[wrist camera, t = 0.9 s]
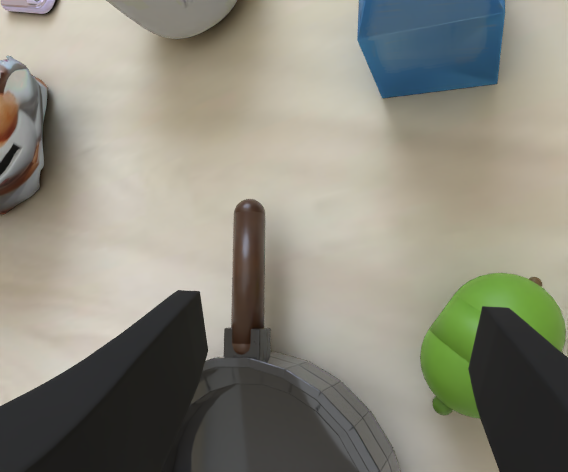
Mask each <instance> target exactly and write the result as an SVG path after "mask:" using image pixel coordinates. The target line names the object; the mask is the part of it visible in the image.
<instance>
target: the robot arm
mask: <svg viewBox="0 0 568 472" xmlns="http://www.w3.org/2000/svg"><path fill="white" fill-rule="evenodd" d="M207 353H208V346H207V339H206V332H205V325H204V318H203V311H202V304H201V297H200V291H181V290H178V291H176V292H175V293H173V294H172V295H171V296H169V297H168V298H167V299H165V300H164V301H163V302H162V303H160V304H159V305H158V306H156V307H155V308H154V309H153V310H151V311H150V312H149V313H147V314H146V315H145V316H144V317H142V318H141V319H140V320H138V321H137V322H136V323H134V324H133V325H132V326H131V327H129V328H128V329H127V330H125V331H124V332H123V333H121V334H120V335H119V336H117V337H116V338H114V339H113V340H111V341H110V342H108V343H107V344H106V345H104V346H103V347H101V348H100V349H98V350H97V351H96V352H94V353H93V354H91V355H90V356H88V357H87V358H85V359H84V360H82V361H81V362H79V363H78V364H76V365H74V366H73V367H71V368H70V369H68V370H66V371H65V372H63V373H61V374H60V375H58V376H56V377H54V378H53V379H51V380H49V381H48V382H46V383H44V384H42V385H41V386H39V387H37V388H35V389H33V390H31V391H29V392H27V393H25V394H23V395H21V396H19V397H17V398H15V399H14V400H12V401H10V402H8V403H6V404H4V405H2V406H0V472H162V469H163V467H164V464H165V461H166V459H167V457H168V455H169V452H170V450H171V448H172V445H173V443H174V441H175V438H176V436H177V434H178V431H179V429H180V427H181V424H182V422H183V420H184V418H185V415H186V413H187V411H188V408H189V406H190V404H191V401H192V399H193V396H194V394H195V392H196V389H197V387H198V384H199V381H200V378H201V374H202V371H203V367H204V364H205V360H206V356H207ZM468 370H469V375H470V380H471V385H472V389H473V394H474V398H475V402H476V407H477V410H478V413H479V416H480V418H481V421H482V424H483V427H484V430H485V433H486V435H487V438H488V441H489V444H490V446H491V449H492V452H493V455H494V457H495V460H496V463H497V466H498V468H499V471H500V472H568V357H566V356H565V355H564V354H563V353H562V352H560V351H559V350H558V349H557V348H556V347H554V346H553V345H552V344H551V343H550V342H549V341H547V340H546V339H545V338H544V337H543V336H542V335H540V334H539V333H538V332H537V331H536V330H535V329H534V328H532V327H531V326H530V325H529V324H528V323H527V322H525V321H524V320H523V319H522V318H521V317H520V316H518V315H517V314H516V313H515V312H513V311H512V310H511V309H510V308H506V307H487V306H482V310H481V314H480V319H479V323H478V328H477V332H476V336H475V341H474V345H473V350H472V354H471V359H470V363H469V367H468Z"/></svg>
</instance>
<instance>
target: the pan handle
mask: <svg viewBox="0 0 568 472" xmlns="http://www.w3.org/2000/svg"><path fill="white" fill-rule="evenodd" d="M264 282H265V210H264V208H263V206H262V205H261V203H259V202H258V201H256V200H253V199H246V200H243V201H241V202H240V203H239V204H238V205H237V206H236V208H235V211H234V234H233V277H232V319H231V328H225V330H224V357H251V358H252V357H253V358H256V359H263V358H268V357H270V331H271V329H270V328H264Z"/></svg>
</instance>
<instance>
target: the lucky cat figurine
mask: <svg viewBox="0 0 568 472" xmlns="http://www.w3.org/2000/svg"><path fill="white" fill-rule="evenodd" d="M7 58H8V59H7V60H1V61H0V214H6V213H7V212H8V211H9V210H10V209H12V208H13V207H15V206H16V205H18V204H19V203H21V202H23V201H24V200H26V199H28V198H29V197H31V196H32V195H33V194H34V193H35V192H36V191H37V190H39V188H40V184H39V177H40V170H41V169H42V168H43V167H44V155H43V144H42V134H43V122H44V117H45V111H46V106H47V90H48V87H47V86H46V85H45V84H44V83H43V81H42V80H40V79H38V78H36V77H34V76H33V75H31V73H30V72H29V70H28V68H27V67H26V66H25V65H24V64H22V63H21V62H19V61H17V60H15V59H13V58H12V57H11V56H7Z"/></svg>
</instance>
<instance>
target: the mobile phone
mask: <svg viewBox="0 0 568 472" xmlns="http://www.w3.org/2000/svg"><path fill="white" fill-rule="evenodd" d="M54 3H55V0H1V5H2V7H3V8H4V9H5V10H8V11H15V12H27V13H38V14H45V13H47V12H49V11H50V10H51V9H52V7H53V5H54Z"/></svg>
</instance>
